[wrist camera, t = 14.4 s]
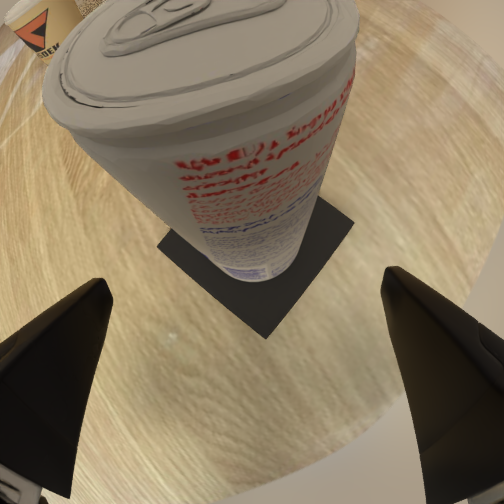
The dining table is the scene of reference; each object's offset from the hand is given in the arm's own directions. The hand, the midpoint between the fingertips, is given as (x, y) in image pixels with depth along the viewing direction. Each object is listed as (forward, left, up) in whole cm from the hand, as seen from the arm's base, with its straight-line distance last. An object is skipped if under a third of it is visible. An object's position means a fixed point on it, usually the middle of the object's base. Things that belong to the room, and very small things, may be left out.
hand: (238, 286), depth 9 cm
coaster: (+3, -3, -9) cm, 10 cm away
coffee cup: (+42, -9, -9) cm, 44 cm away
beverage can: (+2, -3, -9) cm, 10 cm away
